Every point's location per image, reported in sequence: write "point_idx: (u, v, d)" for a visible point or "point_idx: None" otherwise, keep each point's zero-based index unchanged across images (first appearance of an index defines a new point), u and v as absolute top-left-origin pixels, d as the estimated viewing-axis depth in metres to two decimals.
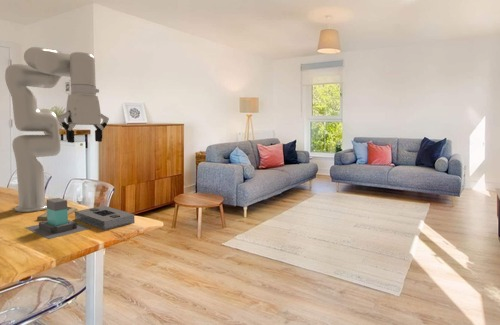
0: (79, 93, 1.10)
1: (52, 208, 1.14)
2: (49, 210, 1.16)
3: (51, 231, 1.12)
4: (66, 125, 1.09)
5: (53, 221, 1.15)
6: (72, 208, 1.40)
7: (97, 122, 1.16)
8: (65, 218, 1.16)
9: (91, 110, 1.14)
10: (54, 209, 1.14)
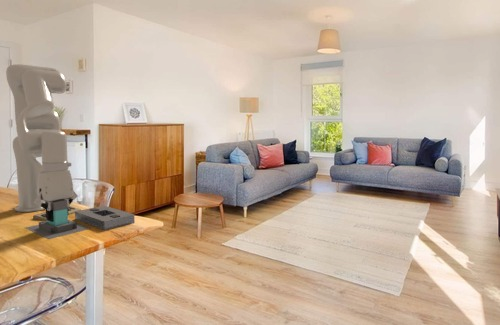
0: (50, 171, 1.11)
1: (52, 208, 1.14)
2: None
3: (51, 231, 1.12)
4: (45, 206, 1.13)
5: (53, 221, 1.15)
6: (75, 209, 1.39)
7: (69, 196, 1.18)
8: (65, 218, 1.16)
9: (63, 186, 1.15)
10: (54, 209, 1.14)
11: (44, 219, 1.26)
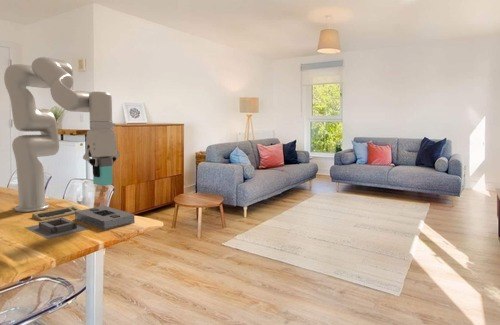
0: (98, 129, 1.19)
1: (99, 165, 1.22)
2: None
3: (51, 231, 1.12)
4: (93, 162, 1.21)
5: (99, 177, 1.23)
6: (76, 210, 1.37)
7: (113, 154, 1.26)
8: (110, 175, 1.24)
9: (108, 144, 1.23)
10: (101, 165, 1.22)
11: (38, 219, 1.26)
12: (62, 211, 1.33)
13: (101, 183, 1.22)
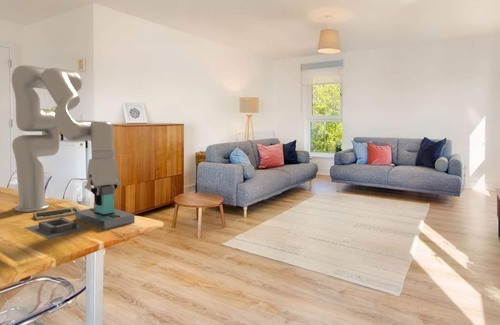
0: (99, 159, 1.21)
1: (101, 193, 1.24)
2: None
3: (51, 231, 1.12)
4: (95, 190, 1.22)
5: (101, 205, 1.24)
6: None
7: (115, 182, 1.27)
8: (112, 203, 1.26)
9: (110, 172, 1.25)
10: (102, 194, 1.23)
11: (35, 218, 1.27)
12: (61, 211, 1.33)
13: (103, 212, 1.24)
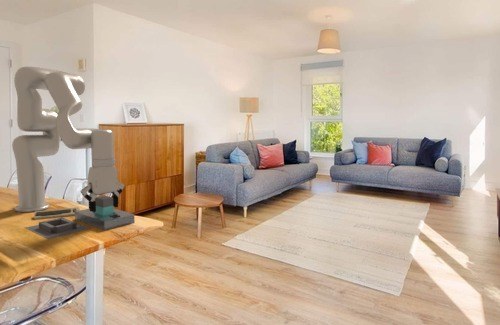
0: (99, 167, 1.21)
1: (100, 205, 1.24)
2: (96, 206, 1.26)
3: (51, 231, 1.12)
4: (89, 197, 1.21)
5: None
6: None
7: (115, 190, 1.28)
8: None
9: (110, 180, 1.25)
10: (102, 206, 1.24)
11: None
12: (60, 212, 1.33)
13: None
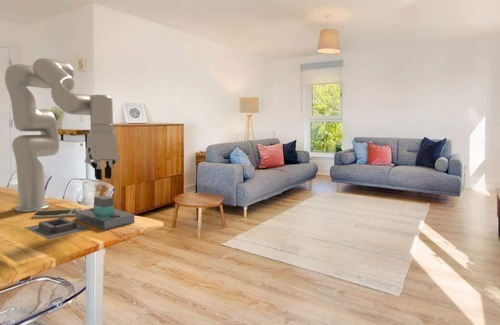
0: (98, 132, 1.20)
1: (100, 205, 1.24)
2: (97, 206, 1.26)
3: (51, 231, 1.12)
4: (95, 164, 1.21)
5: None
6: (72, 213, 1.32)
7: (114, 157, 1.26)
8: None
9: (109, 146, 1.24)
10: (102, 206, 1.24)
11: None
12: (59, 212, 1.32)
13: None
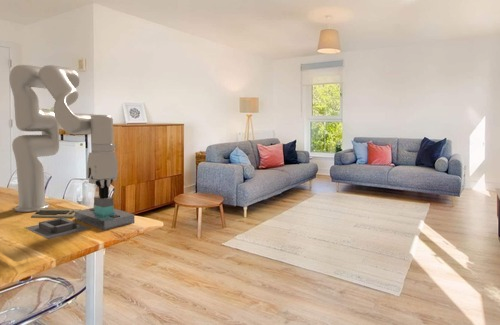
0: (99, 152, 1.21)
1: (100, 205, 1.24)
2: (96, 206, 1.26)
3: (51, 231, 1.12)
4: (99, 183, 1.23)
5: None
6: (69, 214, 1.31)
7: (114, 176, 1.27)
8: None
9: (109, 166, 1.24)
10: (102, 206, 1.24)
11: None
12: (58, 212, 1.32)
13: None
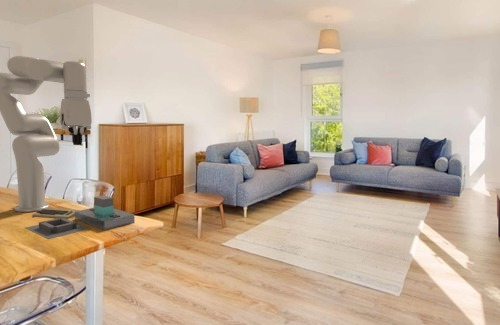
0: (71, 98, 1.23)
1: (100, 205, 1.24)
2: (96, 206, 1.26)
3: (51, 231, 1.12)
4: (72, 130, 1.26)
5: None
6: (66, 215, 1.30)
7: (88, 124, 1.29)
8: None
9: (82, 113, 1.27)
10: (102, 206, 1.24)
11: None
12: (57, 212, 1.32)
13: None
